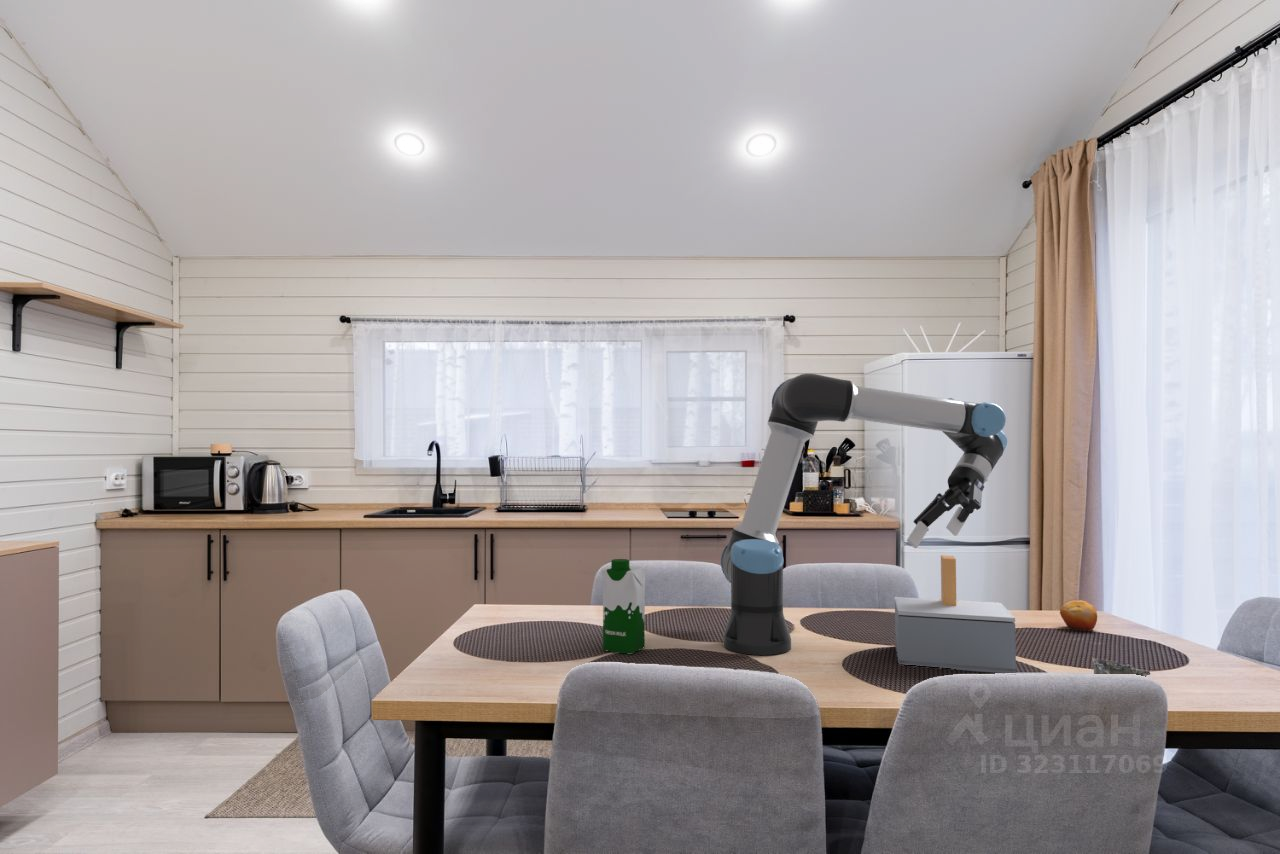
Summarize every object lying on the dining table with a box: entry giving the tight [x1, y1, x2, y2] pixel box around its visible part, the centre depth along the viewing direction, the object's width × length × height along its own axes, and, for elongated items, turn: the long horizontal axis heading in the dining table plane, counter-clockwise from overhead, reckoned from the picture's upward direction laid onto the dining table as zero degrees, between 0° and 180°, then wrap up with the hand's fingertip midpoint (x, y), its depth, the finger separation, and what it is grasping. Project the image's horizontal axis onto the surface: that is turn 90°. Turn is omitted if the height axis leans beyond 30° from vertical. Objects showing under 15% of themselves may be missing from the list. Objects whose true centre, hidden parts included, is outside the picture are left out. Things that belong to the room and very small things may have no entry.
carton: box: [894, 602, 1017, 674], centre depth 158 cm, size 22×16×10 cm
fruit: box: [1059, 599, 1098, 632], centre depth 187 cm, size 8×8×8 cm
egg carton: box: [1091, 656, 1151, 677], centre depth 142 cm, size 11×8×4 cm
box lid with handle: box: [894, 554, 1016, 623], centre depth 158 cm, size 22×16×11 cm
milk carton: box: [601, 558, 647, 654], centre depth 165 cm, size 9×9×20 cm
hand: (930, 538), depth 169 cm, fingers open, 13 cm apart
